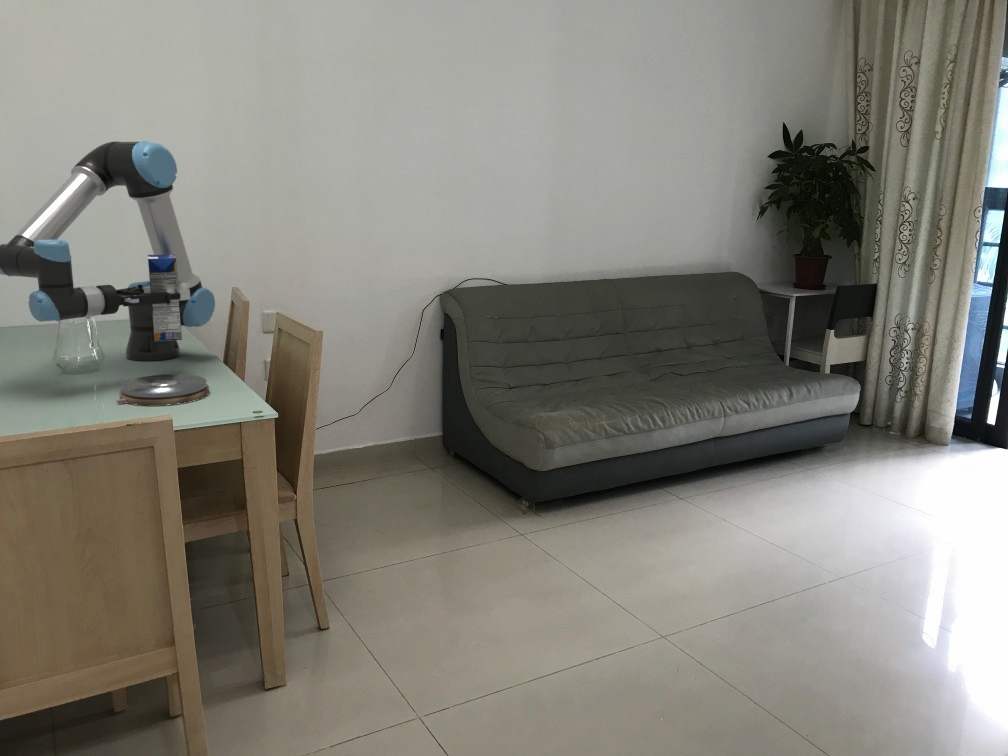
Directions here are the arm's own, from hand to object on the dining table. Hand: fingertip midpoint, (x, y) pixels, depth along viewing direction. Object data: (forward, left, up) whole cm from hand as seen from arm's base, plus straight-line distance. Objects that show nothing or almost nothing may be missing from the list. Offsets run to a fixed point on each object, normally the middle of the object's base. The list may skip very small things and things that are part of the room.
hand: (177, 292), depth 223 cm
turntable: (+16, +18, -21) cm, 32 cm away
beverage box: (+4, 0, -12) cm, 13 cm away
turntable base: (+16, +18, -23) cm, 33 cm away
